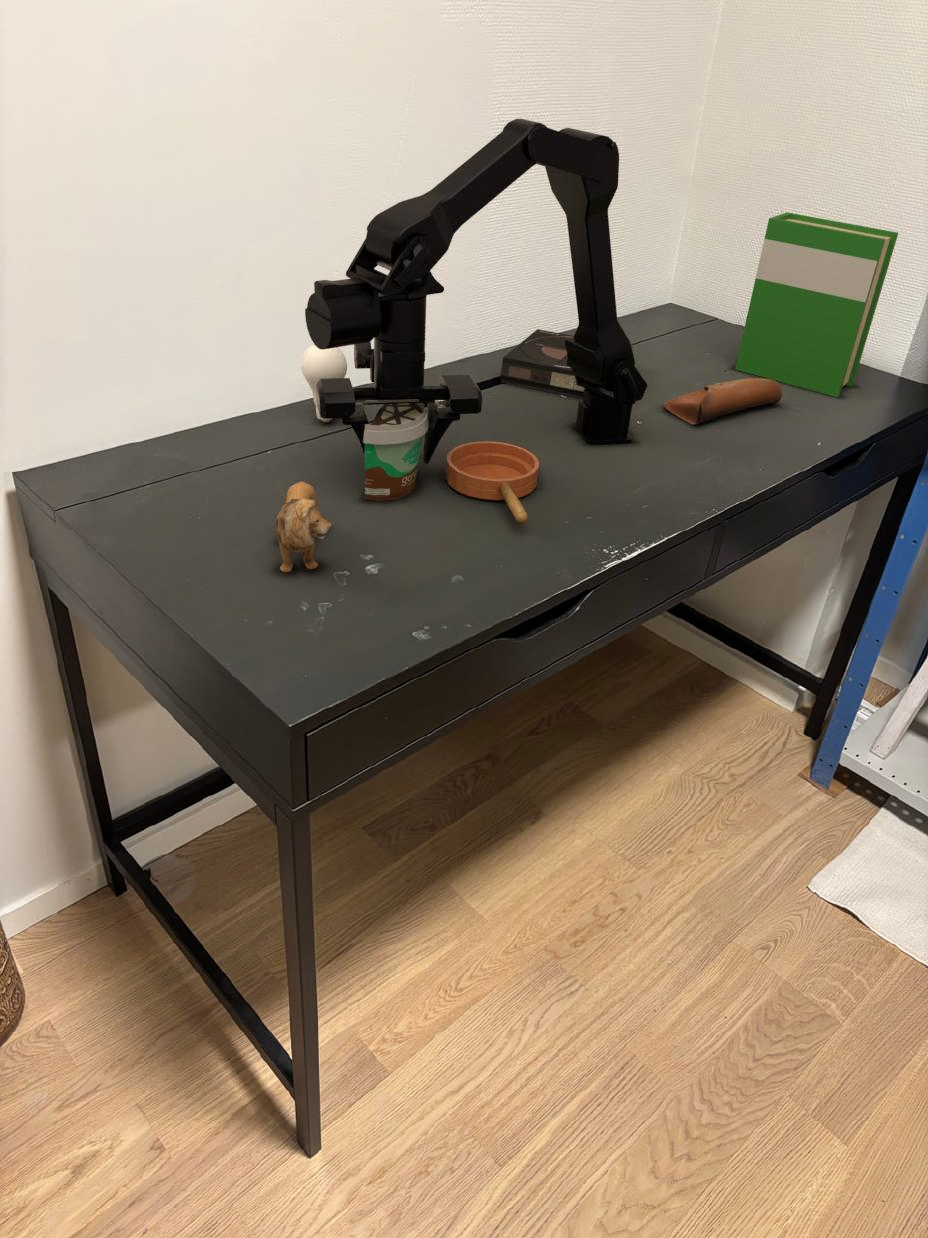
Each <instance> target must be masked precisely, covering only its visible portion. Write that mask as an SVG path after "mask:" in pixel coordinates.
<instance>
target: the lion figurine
mask: <svg viewBox="0 0 928 1238" xmlns="http://www.w3.org/2000/svg"><path fill="white" fill-rule="evenodd" d="M331 527H332V523H331V522H330V521H328V520H327V519H326V518H324V517H323V516H322V513H321V512H320V511H319V503H318V497H317V493H316V491H315V488H314V487H313V486H312V485H311V484H309V483H306V482H305V481H299V482H296V483H294V484H293V485H291V486H290V487H289V488H288V491H287V493H286V496H285V503H284V504H283V505H282V507H281V510H280V511H279V512H278V514H277V517H276V520H275V533H276V537H277V541H278V544H279V545H278V546H279V550H280V555H281V558H282V564H281V565H280V567H279V569H280V571H281V572H282V573H291V572H292V570H293V567H294V566H293V565H294V564H293V561H292V557H291V553H294V552H295V553H302V552H304V555H303V563H304V565H305V567H306V568H307V569H308V570H314V569H316V568H318V566H319V564H318V562H316V561H315V559H314V558H315V557H314V550H315V545H316V540H317V538H318V539H320V540H324V539H325V538H326V535H327V532H328V531H329V530H330V528H331Z"/></svg>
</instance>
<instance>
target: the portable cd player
mask: <svg viewBox="0 0 928 1238" xmlns="http://www.w3.org/2000/svg"><path fill="white" fill-rule="evenodd" d="M571 337H573V334H572V335H571V334H566V333H560V332H556V331H550V330H544V329H539V328H537V329H536V330H534V331H533V332H532V333H531V334H530V335H528V336H527V337H526V338H525V339H523V340H522V341H521V342H520V343H518V344H517V345H516V346H515V347H514V348H513V349H511V350H510V351H508V352H507V353H506V354H505V355H504V356H503V357H502V361H501V368H500V373H499V378H500V383H502V384H507V385H513V386H517V387H522V388H527V389H533V390H538V391H541V392H542V391H543V392H548V393H552V394H558V395H563V396H567V397H572V398H577V399H581V400H583V392H584V389H585V388H584V387H582V386H578V385H577V384H576V378H575V374H574V373H573V372H572V369H571V368H570V367H568V366H567V365H566V364H567V350H566V347H565V340H566V339H569V338H571ZM631 347H632V348H633V346H632V345H631Z"/></svg>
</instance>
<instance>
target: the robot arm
mask: <svg viewBox="0 0 928 1238" xmlns="http://www.w3.org/2000/svg"><path fill="white" fill-rule="evenodd" d="M536 165H538V166H542V167H544V168H545V171H546V175H547V180H548V183H549V186H550V190H551V192H552V194H553V195H554V197H555V199H556V200H557V203H558V204H559V205H560V207H561V209H562V210H563V212H564V214H565V218H566V225H567V233H568V239H569V240H568V241H569V250H570V258H571V267H572V276H573V284H574V292H575V293H574V294H575V301H576V309H577V318H578V325H577V327H576V329H575V331H574V333H573V334H572V336H573V337H571V338H569V339H566V340H565V347H566V350H567V364H566V365H567V366H568V367H570V368H571V369H572V372H573V373H574V374H575V378H576V384H577V385H578V386H582V387H584V388H585V389H584V392H583V399H579V401H578V405H577V413H576V420H575V422H574V428H575V429H576V431H577V432H578V433H579V434H580V435H581V436H582V438H583V439H584V440H585V441H586V443H587V444H591V445H593V444H594V445H595V444H616V443H618V444H620V443H631V442H632V441H633V437H632V436H631V435H630V434H629V429H630V422H631V416H632V411H633V405H635V404H636V402H638V401H641V400H643V398H644V395H645V393H646V390H647V388H648V383H647V381H646V380H645V379H644V378H643V376H642V374H641V373H640V372H639V370H638V369H637V368H636V359H635V356H634V351H633V347H631V346H632V343H631V339H630V338H629V337H628V335H627V334H626V332H625V330H624V328H623V327H622V325H621V324H620V321H619V320H618V313H617V310H618V309H617V300H616V289H615V278H614V277H615V276H614V266H613V265H614V263H613V254H612V245H611V243H612V242H611V232H610V231H611V230H610V220H609V208H610V206H611V203H612V201H613V199H614V197H615V195H616V193H617V191H618V188H619V174H620V173H619V172H620V152H619V147H618V145H617V143H616V141H614V140H613V139H612V138H611V137H609V136H608V135H603V134H600V133H594V132H589V131H585V130H580V129H576V128H572V127H565V128H561V129H559V130H556V129H553V128H550V127H547V125H546V124H545V123H542V122H538V121H534V120H529V119H524V118H515V119H513V120H510V121H509V122H507V123H506V124H505V125H504V127H503V129H502V131H501V132H500V133H499V134H497V135H496V136H494V138H493V139H491V140H490V141H489V142H488V143H486V144H485V145H484V146H483V147H482V148H480V149H479V150H478V151H476V152H475V153H474V154H472V155H471V157H469V158H468V159H467V160H466V161H464V162H463V163H462V164H461V165H460V166H458V167H457V168H456V169H455V170H453V171H452V172H451V173H450V174H449V175H447V176H446V177H445V178H444V179H442V180H441V181H440V182H439V183H438V184H436V185H435V186H434V187H433V188H431V189H430V190H428V191H427V192H425V193H423V194H421V195H418V196H415V197H412V198H407V199H405V200H404V199H403V200H402V201H399V202H397V203H395V204H393V205H392V206H390V207H388V208H387V209H384V210H383V211H381V212H379V213H378V214H376V215H375V216H374V217H373V218H372V219H371V220H370V221H369V222H368V225H367V226H366V235H365V239H364V241H363V242H362V243H361V246H360V247H359V249H358V251H357V253H356V254H355V256H354V257H353V259H352V261H351V262H350V264H349V266H348V268H347V269H346V271H345V276H346V278H344V279H335V280H328V279H321V280H315V281H314V283H313V287H314V288H313V290H314V291H313V293H312V294H310V295H309V298H308V299H307V300H308V301H307V303H306V304H307V306H306V308H305V310H304V317H305V323H306V328H307V329H306V330H307V332H308V335H309V338H310V339H311V341H312V343H313V345H314V344H315V346H316V347H317V348H319V349H322V350H324V349H330V348H336V347H338V348H341V347H347V346H353V363H354V364H353V365H354V369H356V370H359V369H361V370H362V369H364V370H365V369H369V379H370V382H371V383H372V384H373V387H353V384H352V381H351V378H350V377H344V378H329V379H320V380H319V381H318V382H317V384H316V402H317V406H318V410H319V414H320V417H321V418H324V419H332V420H333V419H334V420H335V419H336V420H337V419H340V422H341V424H342V425H345V426H351V428H352V430H353V431H354V434H355V435H356V437H357V439H358V442H359V443H360V447H361V449H362V453H363V455H364V457H365V443H363V440H364V430H365V424H368V425H369V420H368V417H367V414H366V411H365V406H372V405H373V406H376V405H384V404H407V403H423V404H427V406H426V407H427V408H426V411H427V416H428V423H429V428H428V430H427V432H426V433H425V434H424V440H423V453H422V455H423V463H424V464H425V465H427V464H429V463H430V461H431V459H432V457H433V455H434V453H435V451H436V449H437V447H438V445H439V443H440V441H441V439H442V438H443V437H444V434H445V433H446V431H447V430H448V429H449V427H450V426H451V424H452V423H453V422H458V421H460V420H461V415H474V414H479V413H481V412H482V409H483V395H482V393H483V392H482V390H481V389H480V388H479V385H478V384H477V383H476V381H475V380H474V378H473V377H472V376H471V375H470V374H449V375H448V374H447V375H446V374H445V375H443V374H442V375H441V376H440V379H439V384H435V385H425V362H426V329H427V328H426V327H427V323H426V321H427V298H428V297H427V296H430V295H431V296H432V295H436V294H437V295H438V294H442V293H444V292H445V287H444V285H443V284H441V283H440V282H439V281H438V280H437V279H436V278H435V277H434V275H433V273H432V271H431V270H432V269H433V268H434V267H435V266H436V265H437V263H439V261H440V260H441V259H442V258H443V257H444V256H445V254H447V253H448V251H449V248H450V246H451V243H452V241H453V239H454V238H453V237H454V235H455V234H456V233H457V232H458V231H459V229H460V228H461V227H462V226H463V225H464V224H466V223H467V222H468V221H469V220H470V219H472V217H474V216H475V215H477V214H478V213H479V212H480V211H481V210H482V209H484V208H485V206H487V205H488V204H489V203H490V202H492V201H493V200H494V199H495V198H497V196H499V195H500V194H502V193H503V192H504V191H505V190H506V189H507V188H509V187H510V186H511V185H513V184H514V183H515V182H516V181H517V180H519V178H521V177H522V176H523V175H524V174H525V173H527V172H528V171H529V170H531V168H533V167H534V166H536ZM378 266H379V267H381V268H383V269H385V270H387V271H388V274H386V273H384V272H382V271H379V270H377V269H375V268H376V267H378ZM372 341H373V348H372Z"/></svg>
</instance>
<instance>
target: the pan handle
mask: <svg viewBox="0 0 928 1238" xmlns="http://www.w3.org/2000/svg"><path fill="white" fill-rule="evenodd" d="M499 490H500V492H501V494H502V496H503V498H504V499H505V500H504V501H505V503H506V505H507V507H508V508H509V510H510V512H511V514H512V516H513V518H514V519H515V521H516V522H517V523H519V524H524V523H526V522H527V521H528V519H529V516H528V513H527V512H526V509H525V508H524V507H523V504H522V502H521V501H520V499H519V498H517V496H516V494H515V493H514V491H513V489H512V487H511V486H510V484H509V483H508V482H506V481H503V482H501V483H500V484H499Z"/></svg>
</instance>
